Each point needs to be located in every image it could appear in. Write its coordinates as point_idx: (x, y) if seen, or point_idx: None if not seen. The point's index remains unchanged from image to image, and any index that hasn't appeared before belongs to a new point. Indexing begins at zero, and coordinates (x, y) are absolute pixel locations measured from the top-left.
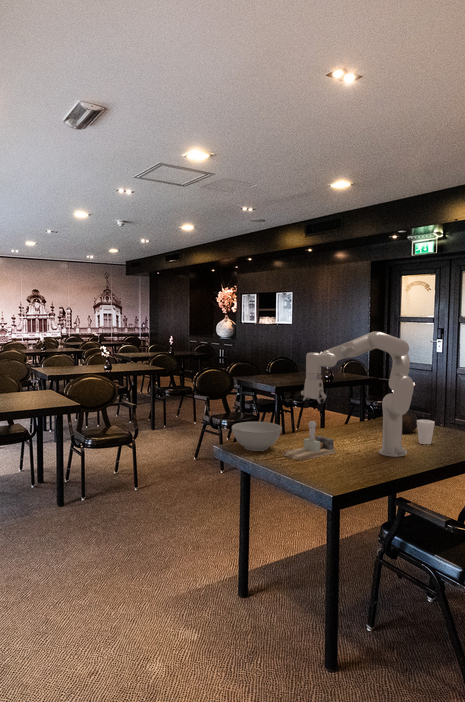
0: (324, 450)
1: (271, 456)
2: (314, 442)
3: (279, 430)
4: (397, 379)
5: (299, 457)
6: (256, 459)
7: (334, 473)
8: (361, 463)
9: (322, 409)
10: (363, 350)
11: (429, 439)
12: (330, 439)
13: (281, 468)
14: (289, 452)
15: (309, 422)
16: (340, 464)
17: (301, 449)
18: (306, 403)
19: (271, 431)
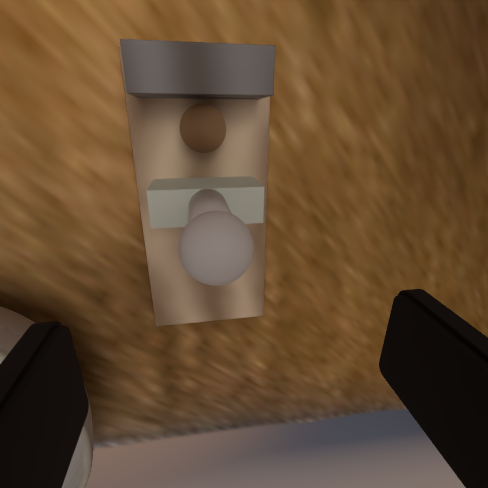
0: (251, 139)
1: (144, 358)
2: (247, 222)
3: None
4: None
5: (259, 314)
6: (152, 415)
7: None
8: (452, 109)
9: (427, 298)
10: None
11: None
12: (259, 67)
13: (283, 396)
14: (182, 312)
15: (207, 283)
16: (393, 203)
17: (167, 232)
18: (42, 475)
19: (86, 449)
